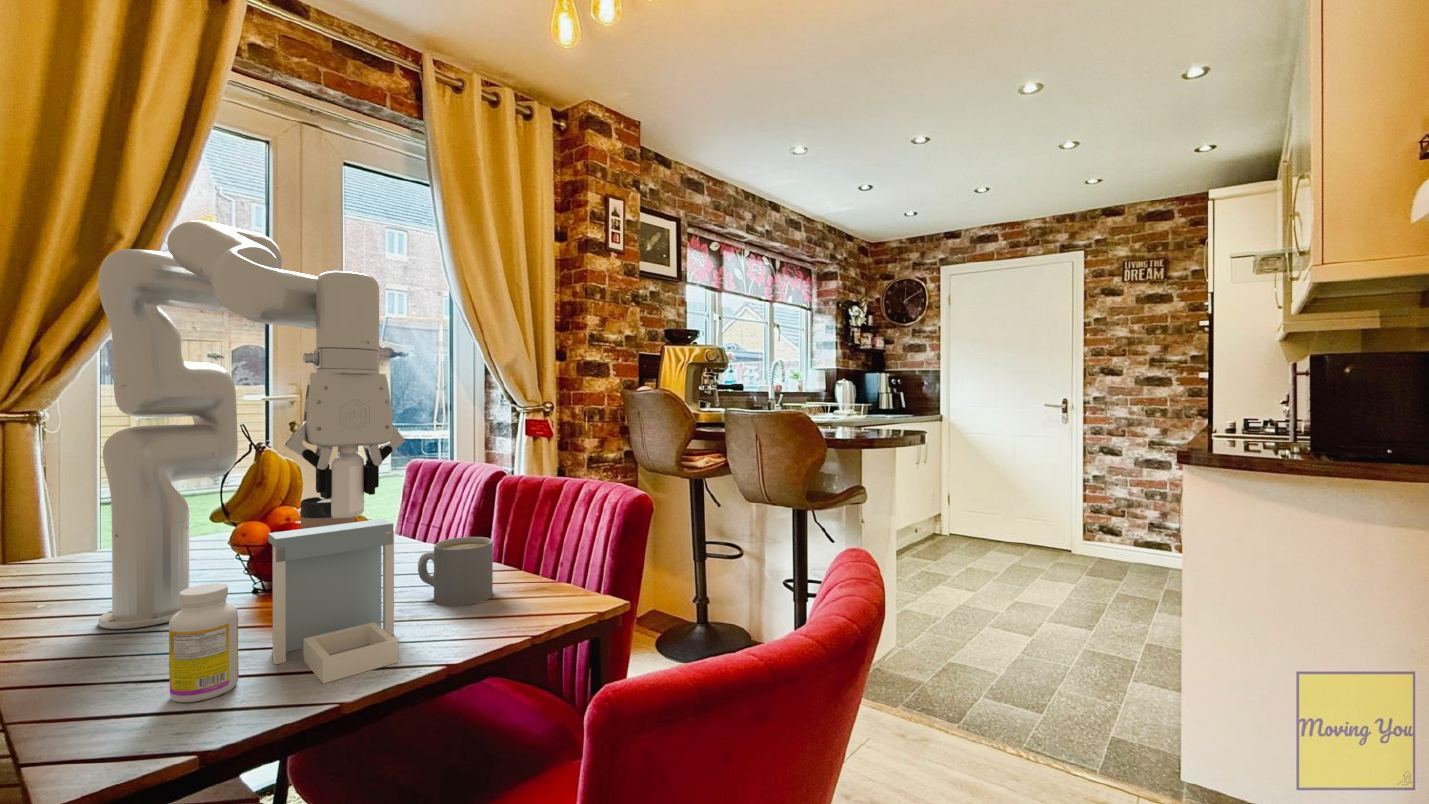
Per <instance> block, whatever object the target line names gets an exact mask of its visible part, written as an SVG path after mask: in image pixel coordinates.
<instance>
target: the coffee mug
mask: <svg viewBox="0 0 1429 804" xmlns="http://www.w3.org/2000/svg"><path fill="white" fill-rule="evenodd" d="M493 547H494V546H493V539H491V538H489V537H484V536H464V537H463V536H462V537H455V538H447V539H444V540H440V541H438V542H436V543H435V544H434V546H433V550H430V551H427V552H424V553H423V554H422V555H421V556H420V557H419V559H418V563H417V564H418V565H417V571H418V577H419V578H420V580H421V581H422V582H424V584H427V585H429V586H431V587H433V602H434V604H436V605H439V606H442V607H452V608H454V607H466V606H472V605H476V604H480V603H483V602H485V601H487V600H490V599H491V598H492V597H493V595H494V594H493V591H494V590H493V587H494V586H493V582H494V581H493V580H494V579H493V577H494V575H493V571H494V569H493V564H494V563H493V562H494V561H493V560H494V557H493V556H494V555H493V552H494V551H493V549H494V548H493ZM429 560H431V561H432V562H433V575H431V574H430V573H429V571H428V568H427V567H428V565H427V564H428V561H429Z"/></svg>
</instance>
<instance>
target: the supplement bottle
mask: <svg viewBox="0 0 1429 804" xmlns="http://www.w3.org/2000/svg"><path fill="white" fill-rule="evenodd" d="M228 595H229V586H228V584H227V583H208V584H200V585H196V586H191V587H189V588H187V589H185V590H183V591H181V592H180V593H179V603H180V605H181V606H182V610H181V611H179V612H178V613H176V614H175V615H174V616H173V617H172V618H171V620H170V622H168V647H169V648H168V649H169V650H168V652H169V653H168V656H169V658H168V663H169V668H168V669H169V672H168V673H169V696H170V698H171V700H173V701H174V702H177V703H195V702H202V701H205V700H209V699H213V698H215V697H219V696H221V695H224V694H225V693H227V692H229V691H230V690H232V689H233V688H234V687H236V685H237V684H238V682H239V672H240V671H239V667H240V666H239V611H238V610H239V609H238V608H237V607H236V606H235V605H234V604H232V603H229V602H227V598H228Z"/></svg>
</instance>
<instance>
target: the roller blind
mask: <svg viewBox="0 0 1429 804" xmlns="http://www.w3.org/2000/svg"><path fill="white" fill-rule="evenodd" d="M267 534H268V535H267V542H268V543H269V544H271V545H272V549H271V550H272V553H271V554H272V563H271V564H272V565H271V566H272V568H271V569H272V570H271V571H272V654H273V655H272V659H273V661H272V662H273V664H274V665H279V664H283V663H286V662H287V661H286V658H287V657H286V653H289V652H292V651H297V650H302V649H304V638H308V637H312V636H317V635H321V634H325V633H329V632H334V631H338V630H342V629H347V628H351V627H355V626H359V625H364V624H368V623H372V622H375V623H376V624H377V625H379V626H380V627H381V628H382V629H384V630H385V631H386V632H387V633H389V634H390V635H391V636H393V635H395V530H394V523H393V522H391V521H388V520H386V519H384V518H377V519H370V520H363V521H362V520H361V521H355V522H353V523H345V524H337V525H329V526H322V527H314V528H306V529H299V528H298V529H291V530H284V531H274V532H268V533H267Z"/></svg>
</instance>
